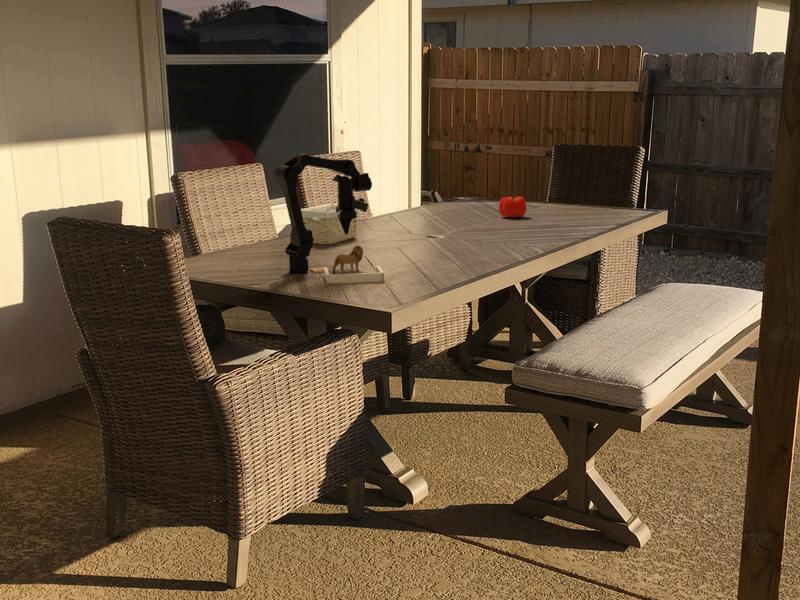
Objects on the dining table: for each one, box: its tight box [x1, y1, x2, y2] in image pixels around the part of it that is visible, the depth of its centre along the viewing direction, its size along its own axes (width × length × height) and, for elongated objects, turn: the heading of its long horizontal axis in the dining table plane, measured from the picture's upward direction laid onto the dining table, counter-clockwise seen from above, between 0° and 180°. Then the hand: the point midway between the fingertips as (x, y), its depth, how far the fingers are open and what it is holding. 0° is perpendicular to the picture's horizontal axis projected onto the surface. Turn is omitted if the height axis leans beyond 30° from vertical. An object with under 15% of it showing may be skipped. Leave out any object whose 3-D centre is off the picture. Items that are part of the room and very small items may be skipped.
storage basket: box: [301, 202, 359, 245], centre depth 423 cm, size 24×16×15 cm
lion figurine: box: [332, 245, 364, 274], centre depth 356 cm, size 15×5×9 cm, turn 136°
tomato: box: [498, 196, 527, 218], centre depth 485 cm, size 14×13×10 cm
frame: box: [323, 265, 385, 284], centre depth 344 cm, size 20×14×3 cm
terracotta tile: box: [308, 266, 331, 274], centre depth 358 cm, size 6×6×1 cm
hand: (346, 233), depth 366 cm, fingers closed
